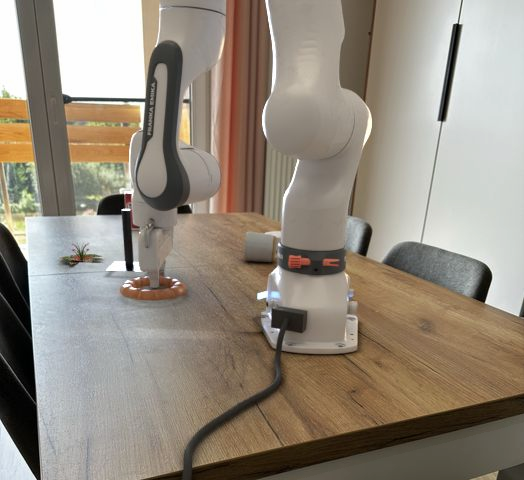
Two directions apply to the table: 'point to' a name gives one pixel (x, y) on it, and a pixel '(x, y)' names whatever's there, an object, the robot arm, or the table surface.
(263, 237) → the ceramic mug
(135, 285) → the ring
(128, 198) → the soda can
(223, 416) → the robot arm
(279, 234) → the ramekin
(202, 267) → the table surface
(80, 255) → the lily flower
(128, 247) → the stand
